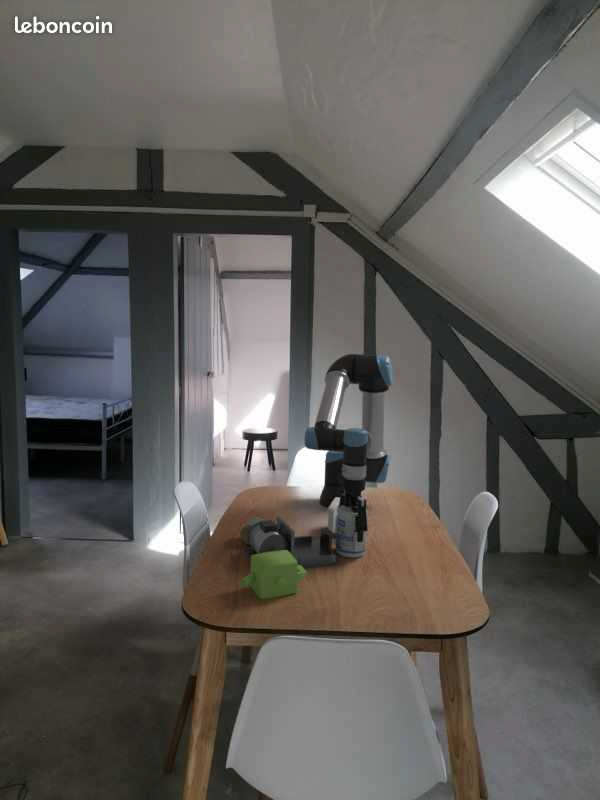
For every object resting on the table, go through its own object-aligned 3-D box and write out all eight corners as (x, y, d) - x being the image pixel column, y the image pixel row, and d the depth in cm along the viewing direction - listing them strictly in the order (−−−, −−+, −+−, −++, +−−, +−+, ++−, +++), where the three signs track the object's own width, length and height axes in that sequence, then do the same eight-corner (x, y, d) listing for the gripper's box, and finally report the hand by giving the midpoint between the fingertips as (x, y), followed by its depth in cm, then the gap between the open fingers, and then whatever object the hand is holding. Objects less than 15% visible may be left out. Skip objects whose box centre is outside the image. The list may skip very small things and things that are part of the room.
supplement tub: (331, 555, 176) (333, 510, 174) (340, 545, 184) (342, 502, 183) (361, 560, 172) (363, 515, 170) (368, 550, 181) (370, 506, 179)
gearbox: (245, 607, 141) (246, 572, 139) (234, 589, 150) (234, 556, 148) (309, 595, 148) (310, 562, 147) (295, 578, 157) (296, 547, 155)
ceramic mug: (238, 545, 182) (239, 522, 181) (246, 536, 190) (247, 515, 189) (269, 549, 179) (270, 526, 179) (276, 540, 187) (277, 519, 186)
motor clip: (320, 542, 186) (321, 508, 185) (343, 563, 170) (344, 526, 168) (242, 551, 177) (243, 515, 175) (258, 573, 160) (259, 534, 159)
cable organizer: (356, 542, 188) (357, 509, 186) (325, 539, 190) (327, 506, 189) (362, 528, 202) (363, 497, 201) (333, 525, 205) (334, 495, 203)
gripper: (329, 469, 184) (326, 534, 187) (359, 487, 164) (355, 559, 166) (349, 468, 187) (346, 532, 190) (381, 485, 167) (377, 556, 169)
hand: (350, 545), depth 178 cm, fingers closed on supplement tub, 9 cm apart
